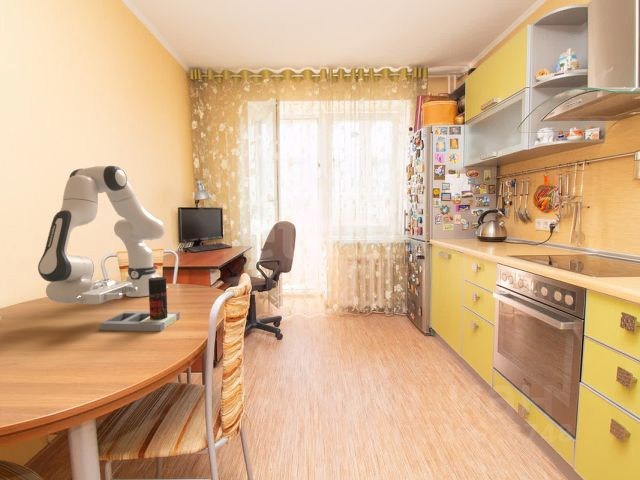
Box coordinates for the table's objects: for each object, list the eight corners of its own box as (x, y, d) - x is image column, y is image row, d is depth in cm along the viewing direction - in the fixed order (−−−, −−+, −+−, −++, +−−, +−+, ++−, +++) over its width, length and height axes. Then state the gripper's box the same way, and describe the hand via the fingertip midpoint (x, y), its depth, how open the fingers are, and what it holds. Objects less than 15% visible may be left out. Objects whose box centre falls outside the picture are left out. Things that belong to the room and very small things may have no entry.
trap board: (125, 317, 127) (125, 311, 127) (179, 318, 126) (179, 312, 126) (100, 330, 113) (100, 323, 113) (160, 331, 112) (160, 324, 112)
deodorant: (147, 317, 119) (145, 278, 118) (163, 314, 124) (162, 276, 122) (153, 321, 115) (152, 281, 114) (170, 317, 120) (169, 278, 119)
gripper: (70, 290, 109) (109, 291, 108) (111, 278, 129) (144, 278, 129) (71, 308, 109) (110, 309, 109) (112, 293, 130) (145, 294, 129)
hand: (129, 292), depth 119 cm, fingers open, 8 cm apart
